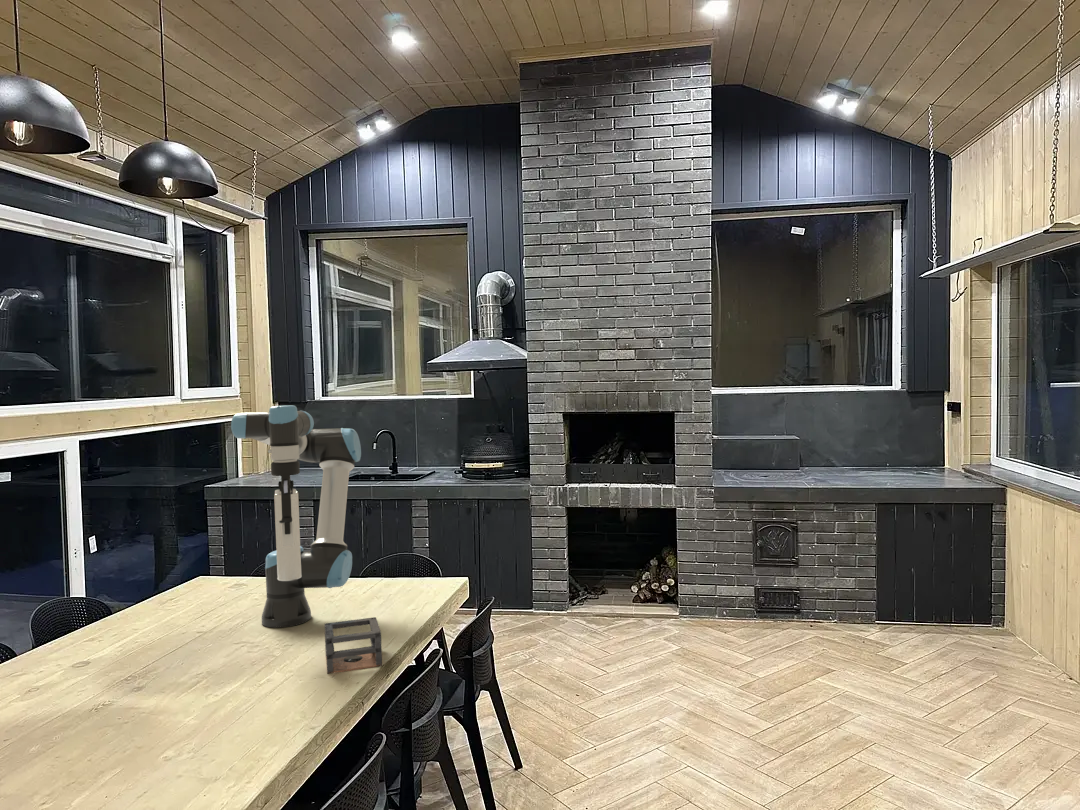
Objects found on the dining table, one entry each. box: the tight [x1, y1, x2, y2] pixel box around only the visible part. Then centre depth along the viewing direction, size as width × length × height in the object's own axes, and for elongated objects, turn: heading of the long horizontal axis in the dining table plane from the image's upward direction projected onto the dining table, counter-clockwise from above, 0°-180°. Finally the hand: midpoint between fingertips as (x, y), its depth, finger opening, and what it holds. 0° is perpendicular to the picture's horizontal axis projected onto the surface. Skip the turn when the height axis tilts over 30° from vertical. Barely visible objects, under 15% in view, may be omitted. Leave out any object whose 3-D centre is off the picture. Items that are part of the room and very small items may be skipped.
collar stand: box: [324, 616, 383, 675], centre depth 194 cm, size 14×14×9 cm
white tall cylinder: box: [273, 488, 302, 581], centre depth 199 cm, size 6×6×25 cm
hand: (288, 543), depth 199 cm, fingers closed on white tall cylinder, 5 cm apart
